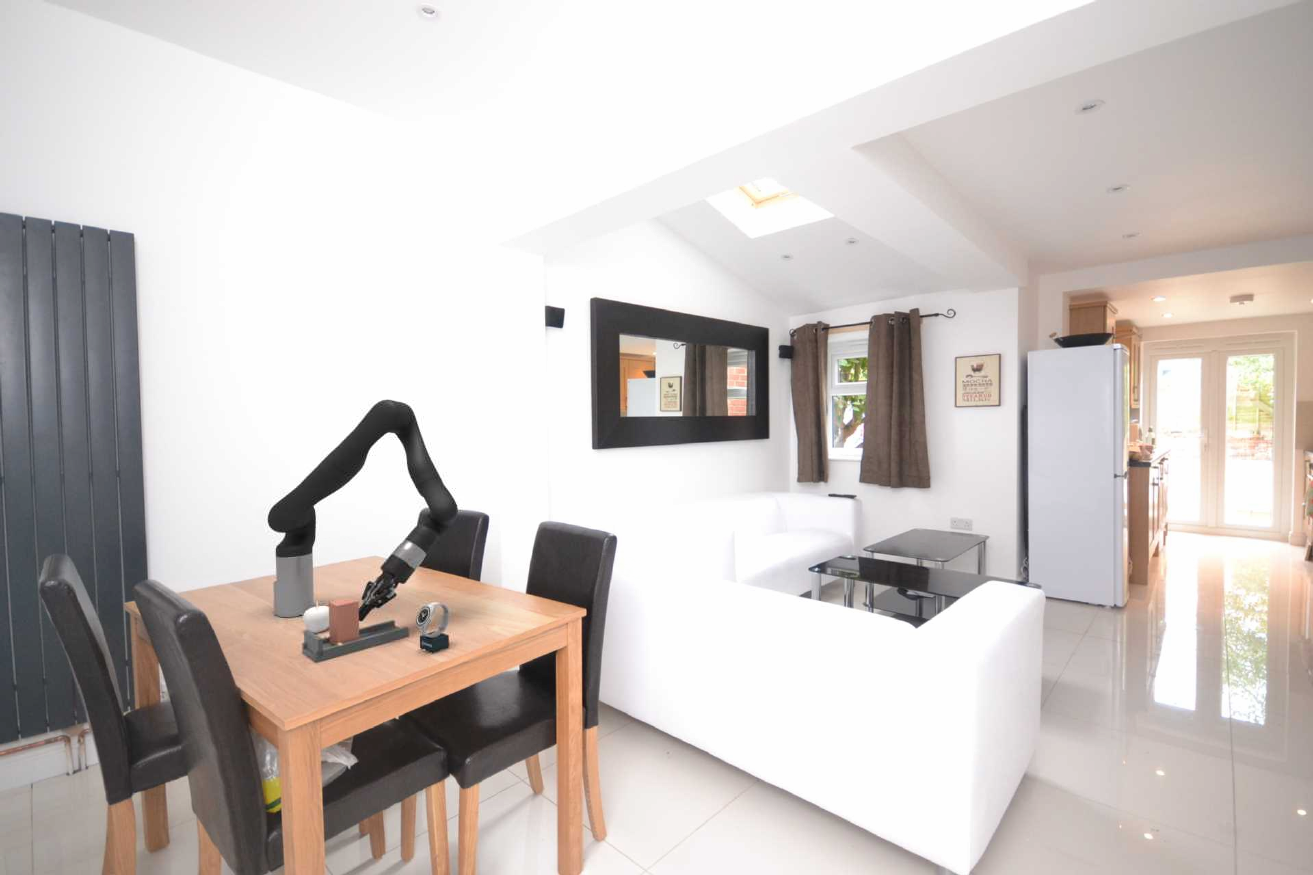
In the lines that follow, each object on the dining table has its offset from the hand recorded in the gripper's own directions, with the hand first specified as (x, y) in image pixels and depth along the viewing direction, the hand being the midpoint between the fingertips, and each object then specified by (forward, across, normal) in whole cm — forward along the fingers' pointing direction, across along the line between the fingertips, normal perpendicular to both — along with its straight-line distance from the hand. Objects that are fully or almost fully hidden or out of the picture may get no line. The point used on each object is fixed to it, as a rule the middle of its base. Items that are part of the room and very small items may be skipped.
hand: (357, 619), depth 149 cm
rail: (+5, 0, +4) cm, 6 cm away
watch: (-3, +17, +12) cm, 22 cm away
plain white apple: (+6, -19, +3) cm, 20 cm away
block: (+6, 0, +1) cm, 6 cm away
